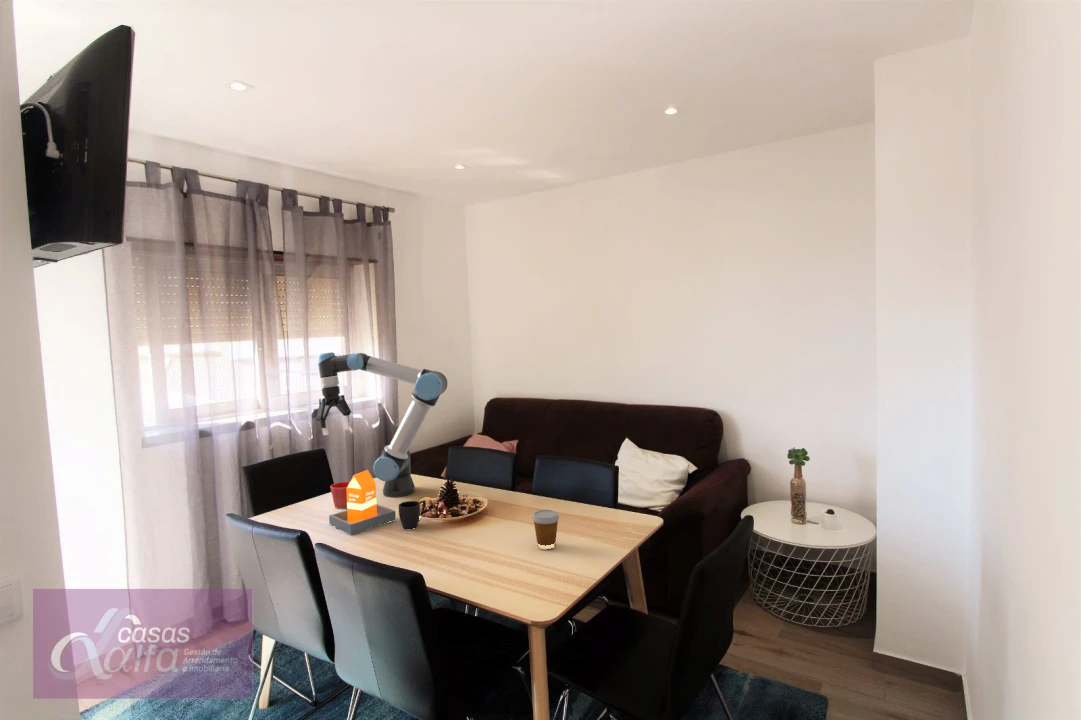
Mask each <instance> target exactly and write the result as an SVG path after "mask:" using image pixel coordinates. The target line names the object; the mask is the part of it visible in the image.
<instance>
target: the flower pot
mask: <svg viewBox="0 0 1081 720" xmlns="http://www.w3.org/2000/svg"><path fill="white" fill-rule="evenodd" d="M349 483H350V481H341V482H336V483H333V484H331V485H330V487H329V488H330V492H331V495H332V496H331V497H332V501H333V505H334V508H336V507H337V508H336V509H346V508H345V507H347V486H348V485H349Z"/></svg>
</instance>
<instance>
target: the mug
mask: <svg viewBox="0 0 1081 720" xmlns="http://www.w3.org/2000/svg"><path fill="white" fill-rule="evenodd" d="M421 504H422V507H421ZM426 505H427V504H426V501H425V500H421V501H416V500H407V501H403V502H401V503H399V504H398V516H399V521H400V524H401V527H402V529H403V528H404V529H413V528H415V529H417V528H418V524H419V523H420V521H421V519H420V520H419V516H420V512H421V511H424V512H425V508H426ZM416 527H417V528H416ZM404 529H403V530H404ZM413 530H414V529H413Z"/></svg>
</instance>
